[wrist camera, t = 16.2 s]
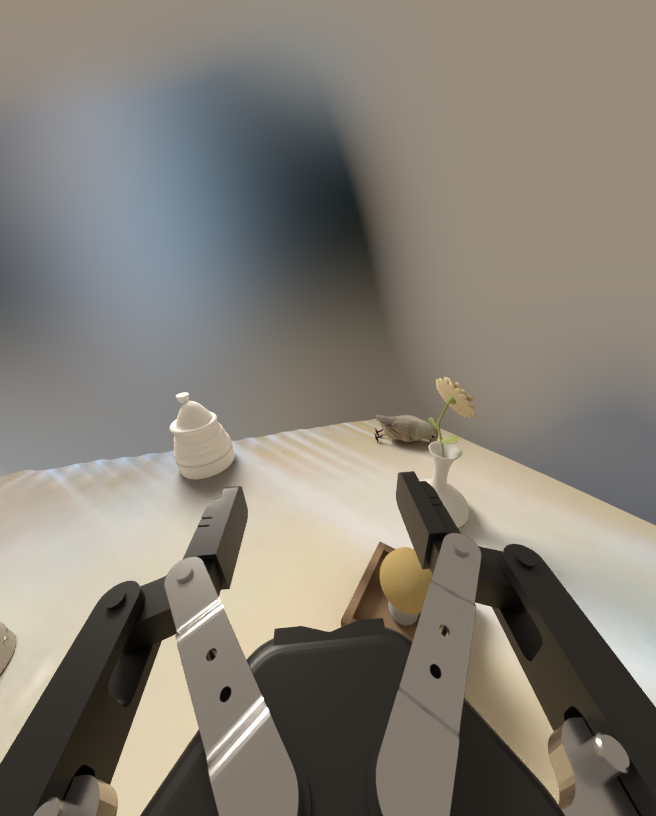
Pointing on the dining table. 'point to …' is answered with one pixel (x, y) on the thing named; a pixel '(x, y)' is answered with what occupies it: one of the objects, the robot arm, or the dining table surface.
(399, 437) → the decorative bird
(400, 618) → the light bulb
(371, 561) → the walnut tray
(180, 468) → the honey pot
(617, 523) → the dining table surface
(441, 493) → the flower in vase
